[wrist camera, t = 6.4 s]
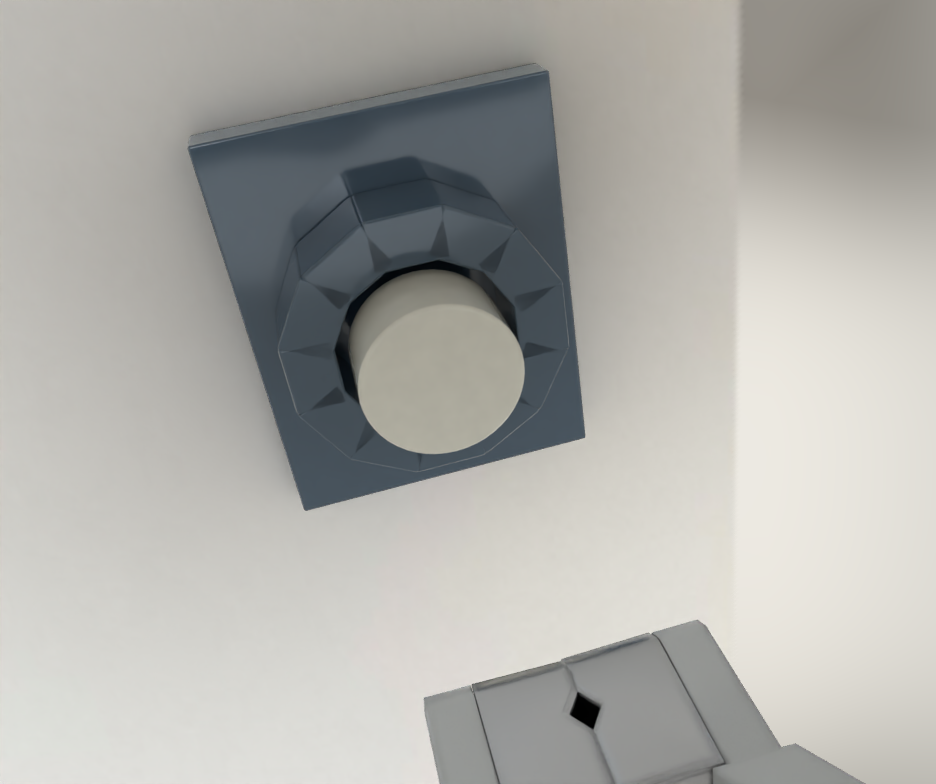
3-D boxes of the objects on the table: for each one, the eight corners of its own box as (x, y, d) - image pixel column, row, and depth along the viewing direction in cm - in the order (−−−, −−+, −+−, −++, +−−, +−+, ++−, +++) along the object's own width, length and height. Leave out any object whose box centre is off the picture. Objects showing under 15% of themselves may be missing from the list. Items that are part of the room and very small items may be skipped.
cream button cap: (331, 288, 19) (340, 329, 17) (491, 251, 19) (515, 287, 18) (366, 424, 21) (377, 473, 19) (511, 388, 21) (535, 432, 20)
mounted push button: (188, 135, 19) (181, 173, 17) (536, 62, 20) (579, 87, 18) (302, 490, 25) (309, 560, 22) (574, 419, 25) (611, 479, 23)
